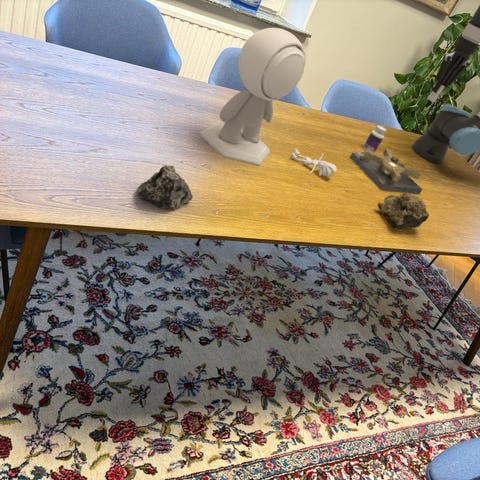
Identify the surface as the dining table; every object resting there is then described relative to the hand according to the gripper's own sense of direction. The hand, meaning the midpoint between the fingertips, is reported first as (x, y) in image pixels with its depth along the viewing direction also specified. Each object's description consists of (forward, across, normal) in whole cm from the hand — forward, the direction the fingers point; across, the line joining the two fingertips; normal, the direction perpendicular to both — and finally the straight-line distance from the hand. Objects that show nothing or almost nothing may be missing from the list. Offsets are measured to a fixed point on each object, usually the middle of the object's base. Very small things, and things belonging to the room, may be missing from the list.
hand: (430, 100), depth 174 cm
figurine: (+25, +58, +21) cm, 67 cm away
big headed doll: (+25, +83, +12) cm, 87 cm away
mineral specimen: (+25, +41, +45) cm, 66 cm away
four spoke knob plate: (+22, +23, +19) cm, 37 cm away
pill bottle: (+25, +16, 0) cm, 29 cm away
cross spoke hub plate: (+24, +23, +19) cm, 39 cm away
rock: (+25, +115, +42) cm, 125 cm away
